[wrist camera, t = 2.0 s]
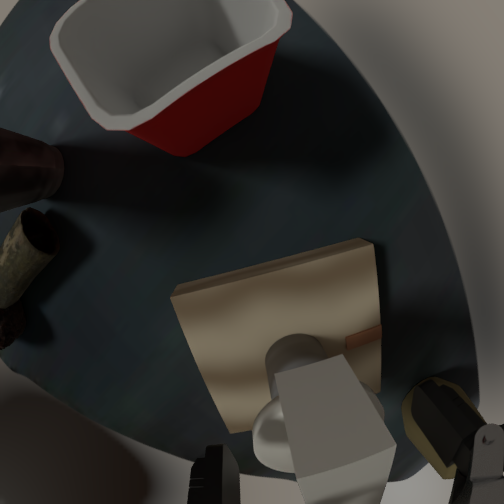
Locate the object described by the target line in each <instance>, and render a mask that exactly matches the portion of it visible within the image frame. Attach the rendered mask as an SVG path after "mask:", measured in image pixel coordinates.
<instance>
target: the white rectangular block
mask: <svg viewBox="0 0 504 504" xmlns="http://www.w3.org/2000/svg"><path fill="white" fill-rule="evenodd" d="M274 375H275V379H276V384H277V389H278V394H279V395H278V396H277V397H275V398H274V399H272V400H271V401H270V402H269V403H267V404H266V405H265V406H264V407H263V408H262V410H261V411H260V412H259V413H258V415H257V417H256V418H255V420H254V423H253V428H252V433H253V445H254V453H255V455H256V457H257V458H258V460H259V461H260V462H261V463H263V464H264V465H265V466H267V467H269V468H271V469H274V470H278V471H282V472H289V473H295V475H296V479H297V482H298V485H299V487H300V490H301V493H302V495H303V498H304V501H305V504H380V502H381V499H382V496H383V492H384V490H385V487H386V483H387V480H388V477H389V473H390V470H391V466H392V462H393V458H394V454H395V450H396V443H395V441H394V439H393V438H392V436H391V434H390V432H389V431H388V429H387V427H386V426H385V424H384V409H383V406H382V405H381V403H380V401H379V400H378V398H377V397H376V395H375V393H374V392H373V390H372V389H371V388H370V387H369V386H368V385H367V384H365V383H364V382H361V381H359V380H358V379H357V377H356V375H355V374H354V372H353V370H352V369H351V367H350V366H349V364H348V362H347V361H346V359H345V357H344V356H343V354H341V355H338V356H335V357H332V358H328V359H325V360H322V361H319V362H316V363H312V364H309V365H305V366H302V367H298V368H295V369H291V370H287V371H283V372H279V373H275V374H274Z"/></svg>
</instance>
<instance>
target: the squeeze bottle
mask: <svg viewBox="0 0 504 504" xmlns="http://www.w3.org/2000/svg"><path fill="white" fill-rule="evenodd" d="M429 379H432V380H433V381H434V382H435V383H436V384H437V385H438V386H441V385H442V384H444V385H446V386H449V387H451V388H453V389H454V390H455V391H456V392H457V393H458V394H459V395H460V397H462V399H463V400H464V401H465V403H467V404H468V405H469V406H470V407H471V408H472V409H473V410H474V411H475V412H476V414H477V415H478V416H479V417H480V418H481V419H482V420H483V421H484V422H485V420H484V419H483V417H482V416H481V415H480V413H479V412H478V410H477V409H476V407H475V406H474V404H473V403H472V402H471V400H470V399H469V398H468V396H467V395H466V394H465V392H464V391H463V389H462V388H461V387H459V386H458V385H457V384H454V383H451V382H449V381H446V380H443V379H441V378H438V377H429V378H427V379H425V380H422V381H421V382H420V383H418V384H417V385H419V384H421V383H423V382H425V381H427V380H429ZM417 385H416V386H417ZM414 388H415V386H414V387H413V389H412V390H411V391H410V392H409V393H408V394H407V395H406V397H405V399H404V400H403V402H402V406H401V410H402V415H403V421H404V427H405V432H406V435H407V437H408V438H409V439H410V440H411V442H412V443H413V444H414V445H415V446H416V448H417V449H418V450H419V451H420V452H421V454H422V455H423V456H424V457H425V458H426V459H427V461H428V462H429V463H430V464H431V465H432V467H433V468H434V469H435V470H436V471H437V473H438V474H439V475H440V476H441V477H442V478H443V479H453V478H455V473H456V469H457V466H456V465H455V463H454V464H453V465H451V466H450V467H448V468H446V466H445V465H444V463H443V462H442V460H441V459H440V457H439V456H438V454H437V453H436V451H435V450H434V448H433V447H432V445H431V444H430V442H429V441H428V440H427V438H426V437H425V435H424V434H423V432H422V431H421V429H420V428H419V427H418V425H417V424H416V422H415V421H414V419H413V417H412V414H411V405H412V399H413V393H414ZM485 423H486V422H485Z"/></svg>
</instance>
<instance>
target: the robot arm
mask: <svg viewBox="0 0 504 504" xmlns="http://www.w3.org/2000/svg"><path fill="white" fill-rule="evenodd" d="M411 414H412V417H413V419H414V421H415V422H416V424H417V425H418V427H419V428H420V429H421V431H422V432H423V434H424V435H425V437H426V438H427V440H428V441H429V442H430V444H431V445H432V447H433V448H434V450H435V451H436V453H437V454H438V456H439V457H440V459H441V460H442V462H443V463H444V465H445V466H446V468H448V467H450V466H451V465H453V464H454V463H455V465H456V466H457V469H456V473H455V478H454V484H453V488H452V492H451V496H450V500H449V504H504V476H503V472H504V424H502V425H496V424H487V423H485V422H484V421H483V420H482V419H481V418H480V417H479V416H478V415H477V414H476V412H475V411H474V410H473V409H472V408H471V407H470V406H469V405H468V404H467V403H465V401H464V400H463V399H462V397H460V395H459V394H458V393H457V392H456V391H455V390H454V389H453V388H451V387H449V386H446V385H444V384H442V385H441V386H438V385H437V384H436V383H435V382H434V381H433V380H432V379H429V380H427V381H425V382H423V383H421V384H419V385H417V386H415V388H414V393H413V399H412V405H411ZM239 479H240V478H239V468H238V464H237V462H236V460H235V458H234V456H233V455H232V453H231V451H230V450H229V448H228V446H227V445H226V444H217V445H208V446H207V447H206V453H205V458H197V459H196V461H195V463H194V464H193V466H192V468H191V475H190V483H189V487H190V488H189V492H188V501H187V504H240V480H239Z"/></svg>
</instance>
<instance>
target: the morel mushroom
mask: <svg viewBox="0 0 504 504" xmlns="http://www.w3.org/2000/svg"><path fill="white" fill-rule="evenodd" d="M59 249H60V243H59V238H58V235H57V232H56V231H55V229H54V228H53V226H52V225H51V223H50V221H49V220H48V218H47V216H45V215H44V214H43V213H41V212H40V211H38V210H35V209H33V208H31V207H29V208H26V211H25V210H23V211H22V212H21V214H20V215H19V217H18V218H17V220H16V222H15V223H14V225H13V227H12V228H11V230H10V232H9V233H8V235H7V237H6V238H5V240H4V242H3V244H2V246H1V248H0V350H2V349H5V347H7V346H10V345H11V344H12V343H13V342H14V340H15V339H16V338H18V337H19V335H21V334H22V333H23V331H24V328H25V326H26V315H25V314H24V310H23V307H22V303H21V301H20V299H19V298H20V297H21V296H22V294H23V293H24V292H25V290H26V289H27V288H28V286H29V285H30V284H31V282H32V281H33V280H34V278H35V277H36V276H37V275H38V274H39V273H40V272H41V271H42V270H43V269H44V268H45V266H46V265H47V264H48V263H49V262H50V261H51V260H52V259H53V258H54V257H55V256H56V255H57V254H58V252H59Z"/></svg>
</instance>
